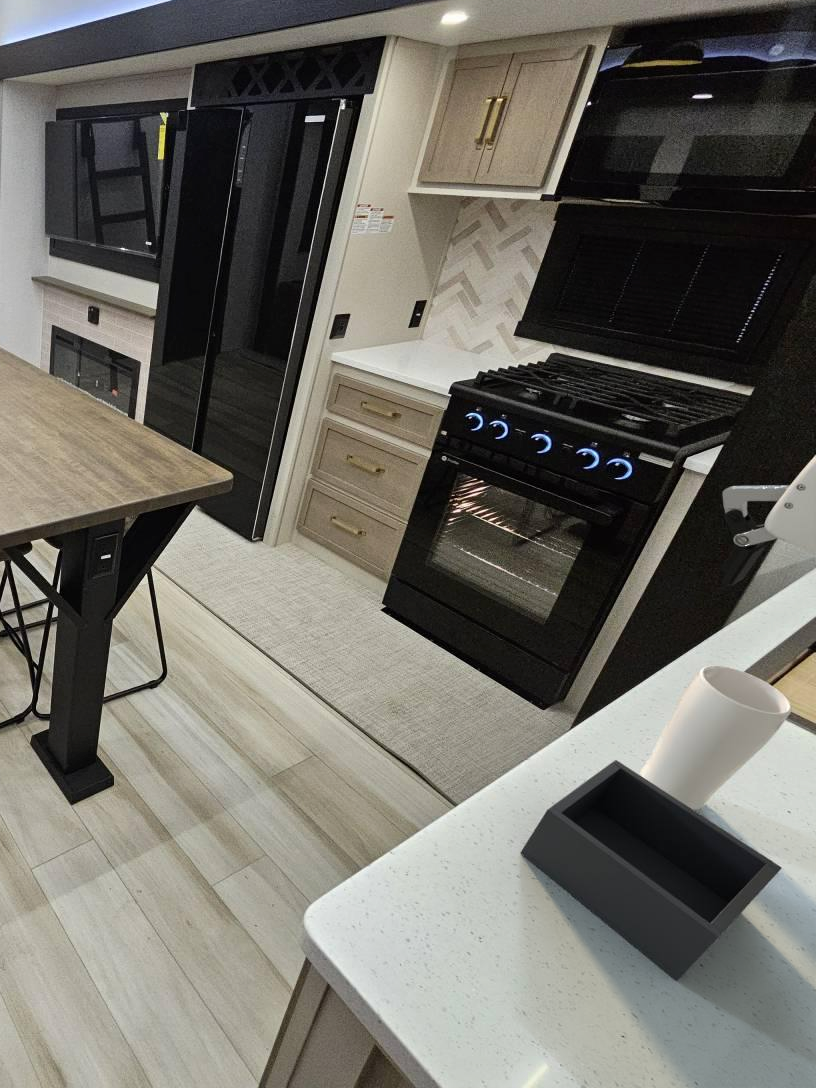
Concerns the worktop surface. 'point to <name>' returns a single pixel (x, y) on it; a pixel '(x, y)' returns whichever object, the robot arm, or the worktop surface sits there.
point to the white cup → (714, 733)
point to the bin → (648, 865)
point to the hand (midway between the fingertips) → (800, 610)
